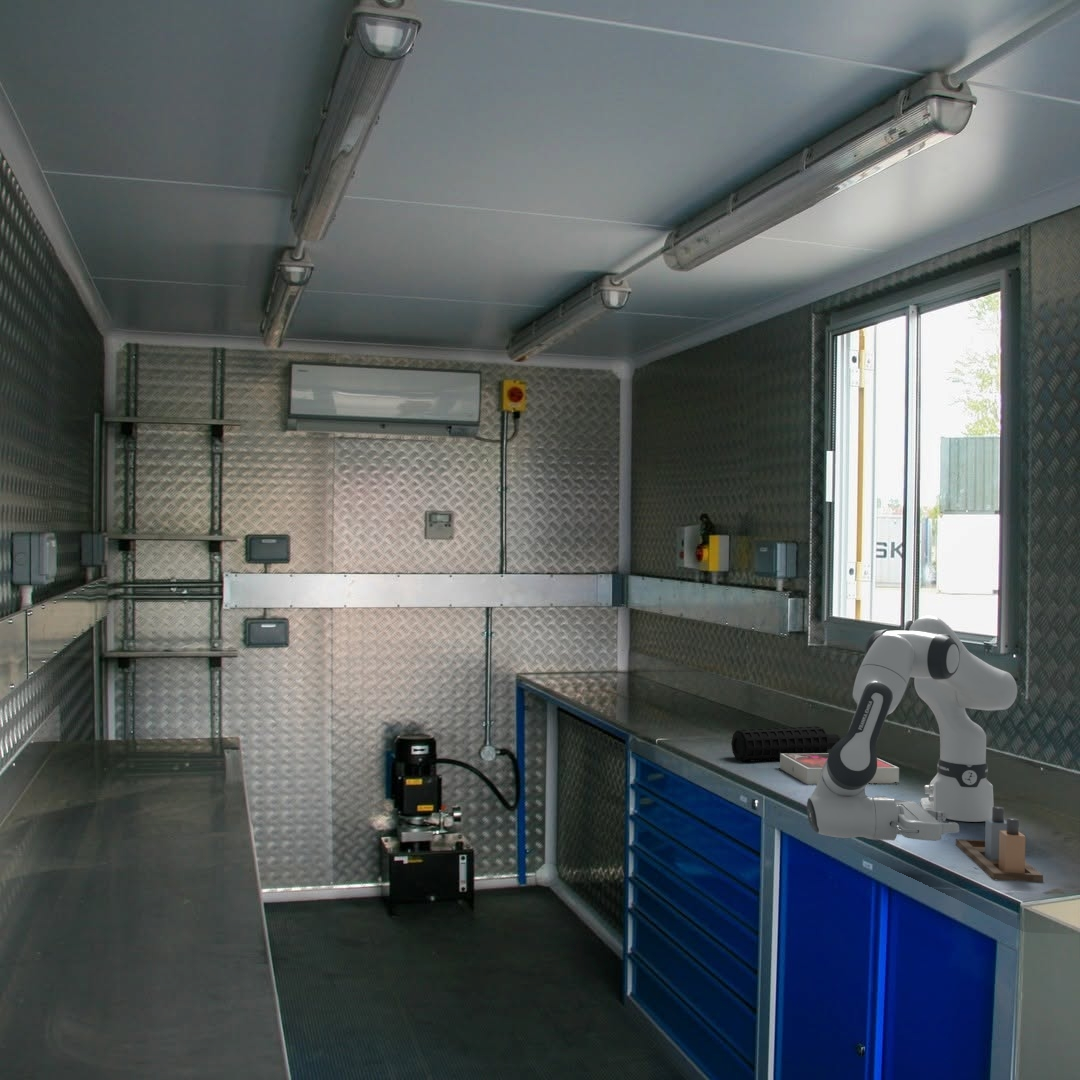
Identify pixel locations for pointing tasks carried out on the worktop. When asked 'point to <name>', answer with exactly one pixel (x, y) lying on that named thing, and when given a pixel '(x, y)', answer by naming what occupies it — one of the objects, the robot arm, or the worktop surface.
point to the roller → (780, 742)
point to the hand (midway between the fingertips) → (951, 821)
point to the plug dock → (995, 863)
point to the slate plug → (994, 833)
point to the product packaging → (812, 764)
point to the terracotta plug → (1012, 848)
